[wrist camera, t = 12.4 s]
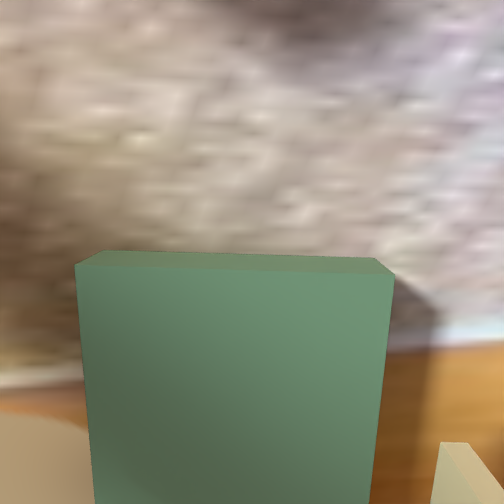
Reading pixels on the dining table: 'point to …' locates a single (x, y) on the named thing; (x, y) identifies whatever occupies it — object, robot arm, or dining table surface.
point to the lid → (232, 376)
